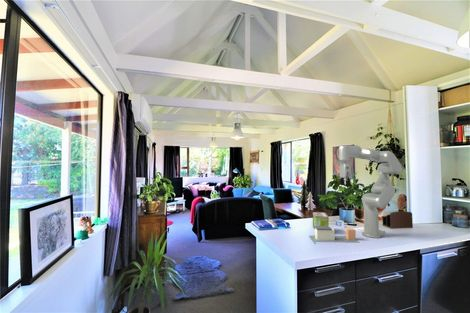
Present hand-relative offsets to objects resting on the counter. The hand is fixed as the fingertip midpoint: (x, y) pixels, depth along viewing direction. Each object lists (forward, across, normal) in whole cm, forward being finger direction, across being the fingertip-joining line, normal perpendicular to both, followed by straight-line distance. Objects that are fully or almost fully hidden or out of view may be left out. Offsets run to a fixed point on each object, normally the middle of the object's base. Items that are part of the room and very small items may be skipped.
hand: (345, 185), depth 167 cm
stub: (+37, -5, -1) cm, 37 cm away
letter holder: (+39, +34, -57) cm, 77 cm away
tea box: (+39, +14, +14) cm, 43 cm away
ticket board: (+38, -5, +11) cm, 40 cm away
